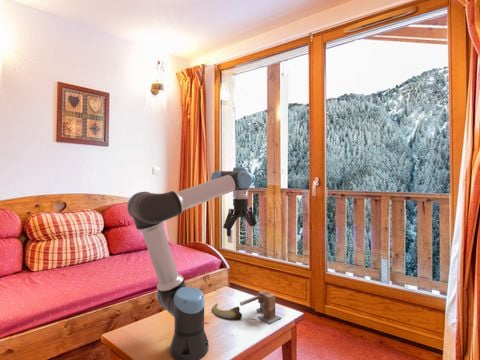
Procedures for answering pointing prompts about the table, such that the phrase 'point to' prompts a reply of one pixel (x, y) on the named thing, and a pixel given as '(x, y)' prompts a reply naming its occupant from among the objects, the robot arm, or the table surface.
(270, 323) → the mat
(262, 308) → the grey lever handle
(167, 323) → the table surface
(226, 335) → the table surface
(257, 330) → the table surface
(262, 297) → the tan brick
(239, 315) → the claw
